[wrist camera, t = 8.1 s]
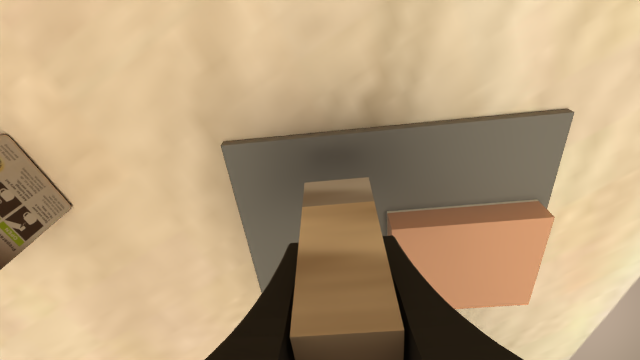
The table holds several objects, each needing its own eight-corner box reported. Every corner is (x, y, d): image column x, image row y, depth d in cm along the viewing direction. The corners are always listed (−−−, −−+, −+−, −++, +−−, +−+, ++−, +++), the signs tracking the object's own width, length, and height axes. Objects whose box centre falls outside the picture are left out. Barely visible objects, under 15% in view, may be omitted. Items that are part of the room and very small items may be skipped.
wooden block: (370, 228, 17) (402, 393, 10) (312, 232, 17) (304, 397, 10) (368, 176, 16) (404, 330, 9) (304, 182, 16) (289, 337, 9)
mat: (519, 285, 28) (523, 291, 27) (266, 302, 29) (265, 308, 28) (567, 108, 20) (574, 112, 20) (223, 141, 21) (220, 145, 21)
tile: (387, 291, 27) (514, 283, 27) (391, 312, 25) (528, 304, 25) (386, 211, 23) (537, 199, 23) (391, 229, 21) (554, 217, 21)
